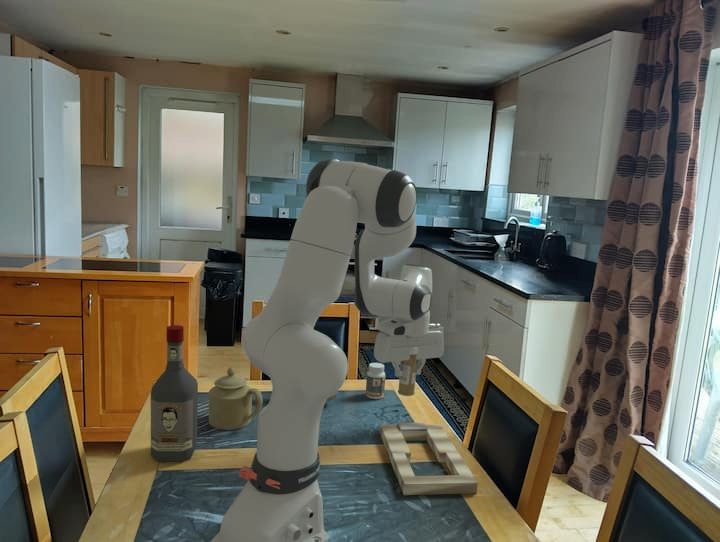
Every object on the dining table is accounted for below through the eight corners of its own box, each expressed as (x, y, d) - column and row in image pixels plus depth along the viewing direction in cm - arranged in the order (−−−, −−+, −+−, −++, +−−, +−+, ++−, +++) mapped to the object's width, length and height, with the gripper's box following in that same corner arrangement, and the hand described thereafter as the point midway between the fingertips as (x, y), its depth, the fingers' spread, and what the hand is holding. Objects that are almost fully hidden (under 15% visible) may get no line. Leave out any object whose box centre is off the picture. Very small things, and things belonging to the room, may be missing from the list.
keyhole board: (476, 493, 116) (477, 479, 115) (403, 495, 113) (404, 481, 113) (439, 433, 143) (440, 422, 142) (379, 433, 140) (380, 422, 140)
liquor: (159, 443, 128) (159, 321, 124) (198, 444, 129) (200, 322, 125) (148, 463, 119) (147, 332, 115) (190, 463, 120) (192, 333, 116)
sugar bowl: (269, 415, 148) (271, 362, 145) (260, 433, 137) (261, 376, 134) (216, 410, 148) (217, 358, 146) (202, 428, 137) (203, 372, 135)
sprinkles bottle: (417, 395, 144) (422, 347, 142) (403, 397, 142) (407, 348, 140) (408, 389, 148) (412, 342, 146) (394, 391, 146) (398, 343, 144)
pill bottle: (385, 399, 163) (388, 368, 161) (367, 399, 162) (369, 368, 160) (382, 392, 169) (384, 362, 167) (363, 392, 168) (365, 361, 166)
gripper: (437, 320, 150) (432, 367, 152) (373, 323, 141) (369, 374, 143) (451, 325, 145) (446, 375, 147) (385, 330, 135) (380, 382, 137)
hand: (407, 375), depth 145 cm, fingers closed on sprinkles bottle, 4 cm apart
